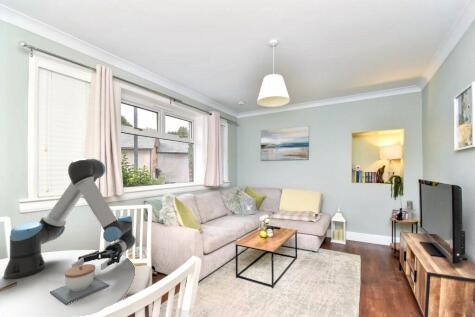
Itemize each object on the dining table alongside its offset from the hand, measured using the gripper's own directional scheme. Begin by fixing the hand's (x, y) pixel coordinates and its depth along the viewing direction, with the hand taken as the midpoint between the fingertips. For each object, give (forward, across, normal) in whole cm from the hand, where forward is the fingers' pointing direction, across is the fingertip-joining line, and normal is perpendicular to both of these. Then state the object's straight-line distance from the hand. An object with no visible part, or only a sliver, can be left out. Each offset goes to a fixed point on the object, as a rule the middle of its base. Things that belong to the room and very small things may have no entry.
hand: (86, 267), depth 100 cm
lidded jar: (+3, 0, -7) cm, 8 cm away
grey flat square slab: (+3, 0, -8) cm, 9 cm away
